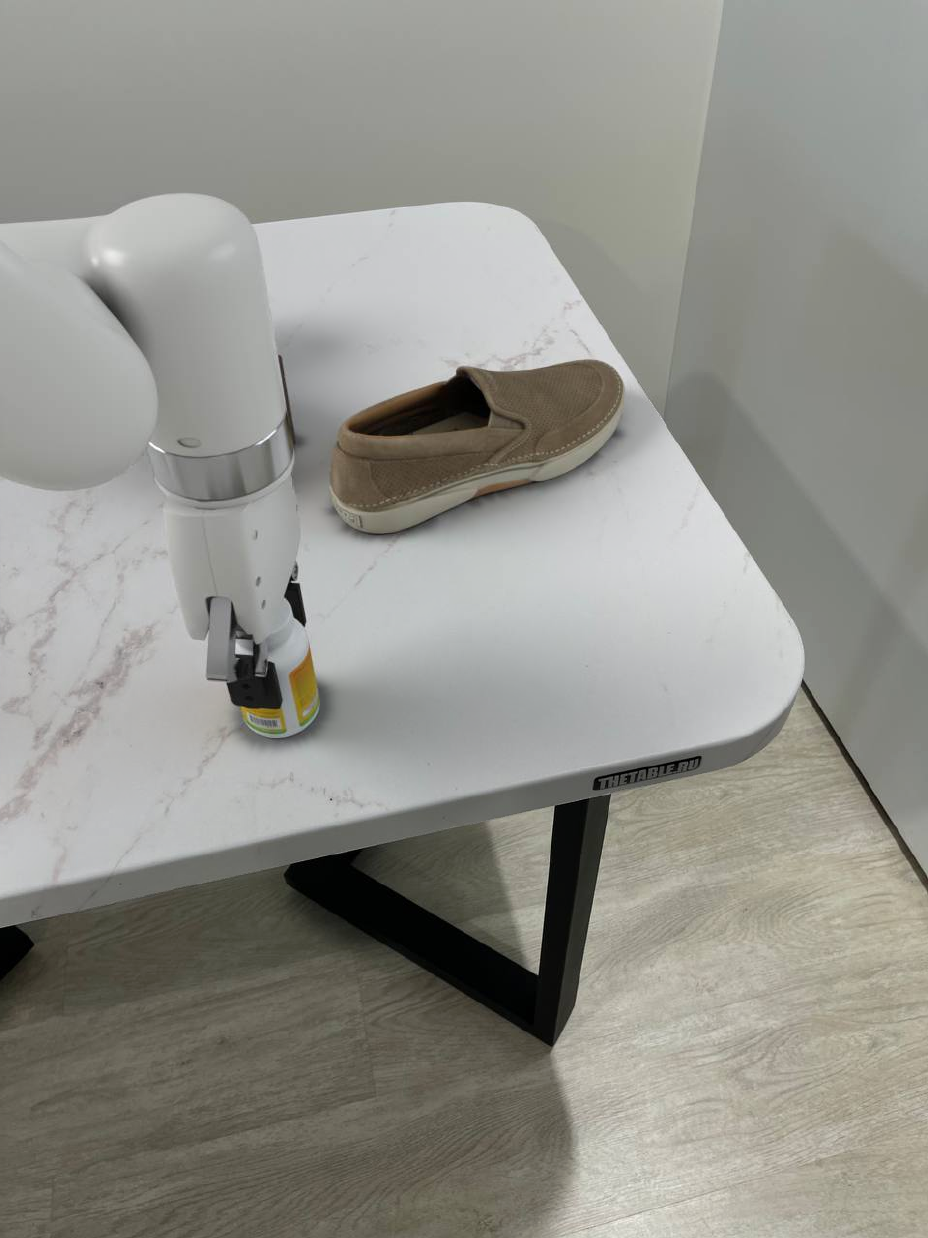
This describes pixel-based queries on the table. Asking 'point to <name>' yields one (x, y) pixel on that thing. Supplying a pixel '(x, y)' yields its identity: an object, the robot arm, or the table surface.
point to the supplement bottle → (286, 679)
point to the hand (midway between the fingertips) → (270, 662)
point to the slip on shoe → (470, 440)
